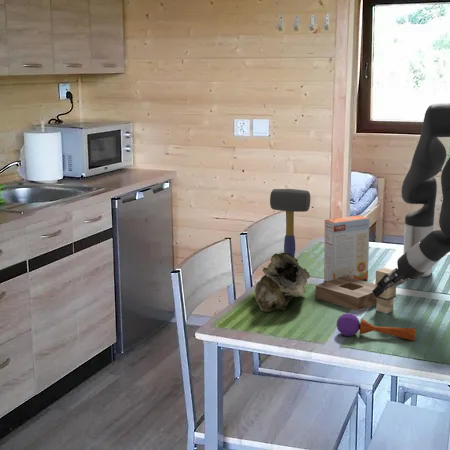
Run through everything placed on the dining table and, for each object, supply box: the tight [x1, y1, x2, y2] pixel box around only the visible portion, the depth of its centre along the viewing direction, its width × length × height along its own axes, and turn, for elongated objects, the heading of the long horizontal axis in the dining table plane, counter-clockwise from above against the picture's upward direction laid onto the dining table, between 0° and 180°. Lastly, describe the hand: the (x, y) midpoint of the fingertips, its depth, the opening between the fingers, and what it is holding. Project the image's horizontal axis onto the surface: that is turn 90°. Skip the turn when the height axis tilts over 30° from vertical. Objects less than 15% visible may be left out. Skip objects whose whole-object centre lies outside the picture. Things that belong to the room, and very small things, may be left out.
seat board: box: [315, 276, 377, 312], centre depth 212 cm, size 14×16×4 cm
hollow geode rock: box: [254, 252, 311, 313], centre depth 211 cm, size 28×13×15 cm
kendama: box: [336, 312, 417, 342], centre depth 182 cm, size 6×6×20 cm
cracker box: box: [323, 214, 370, 282], centre depth 228 cm, size 14×6×21 cm, turn 115°
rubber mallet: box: [269, 188, 311, 266], centre depth 231 cm, size 12×8×30 cm, turn 70°
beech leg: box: [374, 267, 397, 314], centre depth 201 cm, size 4×4×12 cm
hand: (379, 291), depth 202 cm, fingers closed on beech leg, 4 cm apart
